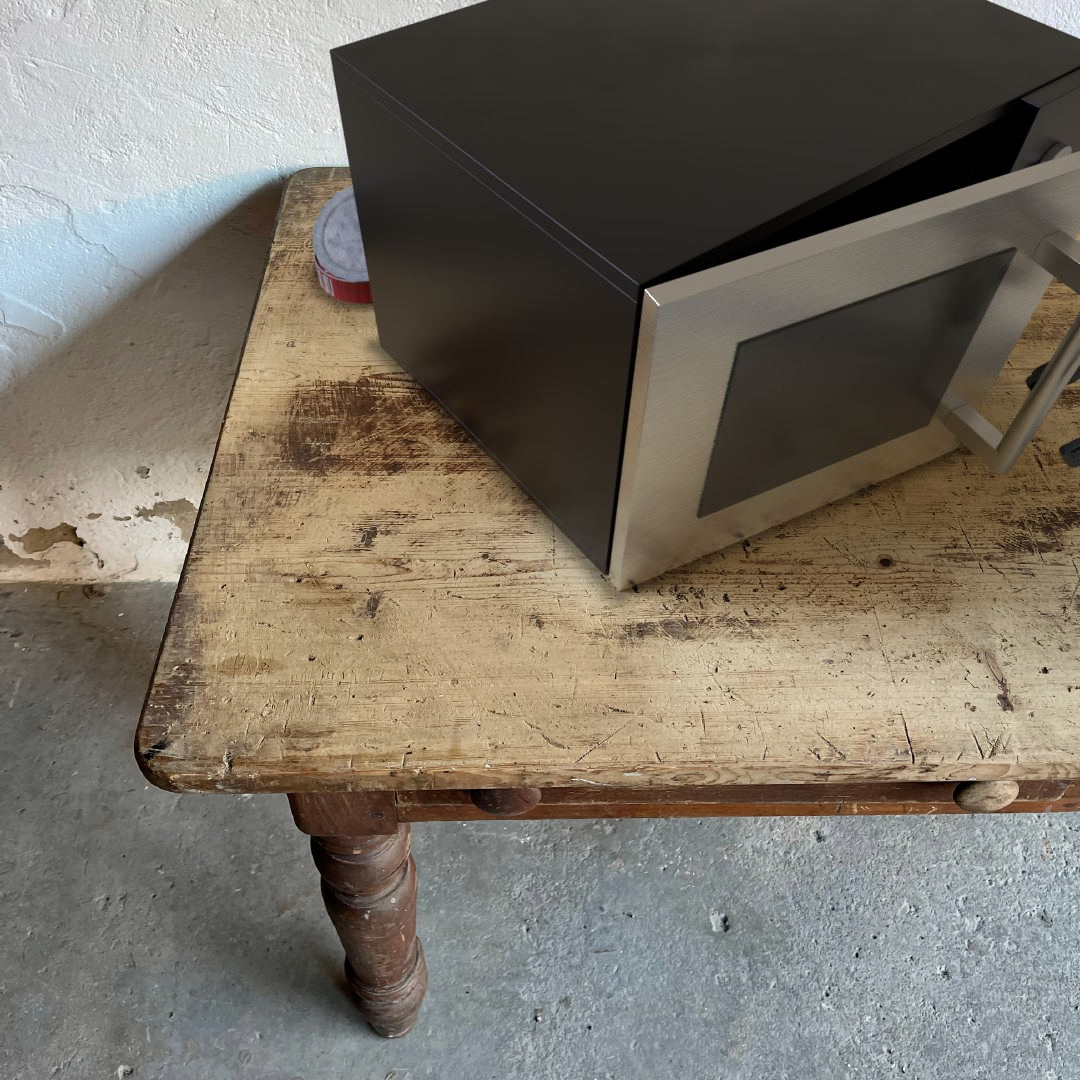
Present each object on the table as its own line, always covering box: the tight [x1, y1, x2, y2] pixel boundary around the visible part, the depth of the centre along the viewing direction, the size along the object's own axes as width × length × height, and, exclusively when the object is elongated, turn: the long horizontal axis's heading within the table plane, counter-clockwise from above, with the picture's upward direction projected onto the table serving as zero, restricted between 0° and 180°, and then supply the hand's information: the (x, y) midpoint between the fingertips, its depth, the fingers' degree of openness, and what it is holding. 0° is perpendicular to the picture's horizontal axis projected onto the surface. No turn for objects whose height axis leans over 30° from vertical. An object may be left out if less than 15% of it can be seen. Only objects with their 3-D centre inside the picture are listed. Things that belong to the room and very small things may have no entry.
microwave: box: [329, 0, 1080, 576], centre depth 76 cm, size 36×46×28 cm
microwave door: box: [608, 151, 1080, 593], centre depth 62 cm, size 8×35×28 cm, turn 117°
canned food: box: [312, 184, 373, 304], centre depth 91 cm, size 11×10×10 cm
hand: (1047, 423), depth 64 cm, fingers open, 6 cm apart
